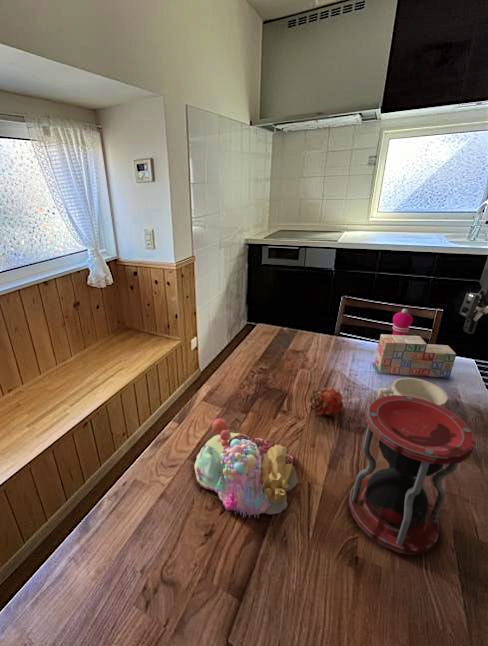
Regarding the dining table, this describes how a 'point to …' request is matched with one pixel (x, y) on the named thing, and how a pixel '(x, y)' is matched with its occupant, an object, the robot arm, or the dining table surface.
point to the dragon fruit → (326, 402)
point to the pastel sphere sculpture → (245, 471)
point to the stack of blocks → (413, 357)
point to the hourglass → (407, 471)
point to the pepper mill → (401, 322)
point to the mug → (416, 390)
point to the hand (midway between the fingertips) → (484, 330)
